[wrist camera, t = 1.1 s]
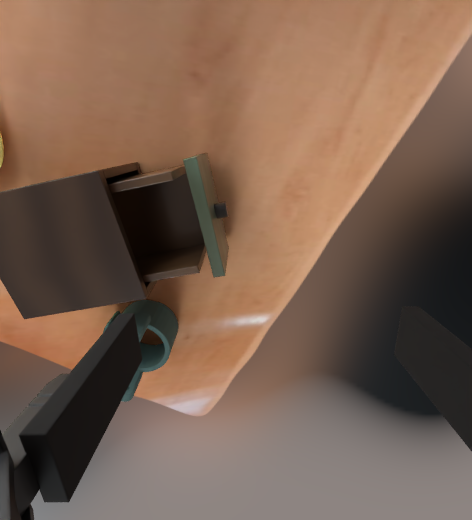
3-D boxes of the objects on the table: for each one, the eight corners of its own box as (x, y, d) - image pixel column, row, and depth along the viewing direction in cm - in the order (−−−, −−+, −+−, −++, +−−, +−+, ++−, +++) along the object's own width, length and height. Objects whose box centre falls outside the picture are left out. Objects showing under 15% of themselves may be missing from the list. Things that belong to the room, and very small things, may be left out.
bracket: (157, 288, 39) (133, 328, 30) (190, 337, 42) (176, 386, 34) (105, 311, 40) (69, 355, 32) (140, 356, 44) (115, 407, 35)
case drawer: (217, 150, 31) (210, 153, 23) (238, 246, 35) (237, 273, 28) (101, 175, 32) (60, 186, 25) (134, 265, 36) (108, 295, 29)
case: (137, 162, 32) (97, 170, 23) (169, 260, 37) (146, 298, 28) (30, 185, 33) (-46, 202, 25) (74, 278, 38) (24, 319, 29)
